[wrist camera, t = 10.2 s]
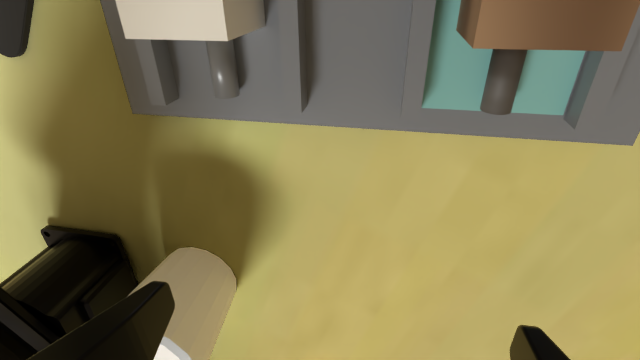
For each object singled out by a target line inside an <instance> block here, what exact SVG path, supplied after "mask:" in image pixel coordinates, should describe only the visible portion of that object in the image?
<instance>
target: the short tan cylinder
mask: <svg viewBox="0 0 640 360" xmlns="http://www.w3.org/2000/svg"><path fill="white" fill-rule="evenodd" d="M152 281H162V282H167V283H168V284H169V286H170V289H171V292H172V295H173V298H174V301H175V309H174V312H173V315H172V317H171V319H170V322H169V324H168V327H167V329H166V331H165V334H164V336H163V338H162V341H161V343H160V346H159V348H158V350H157V353H156V355H155V357H154V359H153V360H209V358H210V356H211V353H212V351H213V348H214V345H215V343H216V340H217V338H218V335H219V333H220V330H221V328H222V325H223V323H224V320H225V318H226V315H227V313H228V310H229V308H230V305H231V302H232V300H233V297H234V295H235V292H236V290H237V286H236V278H235V276H234V274H233V272H232V270H231V268H230V267H229V266H228V265H227V264H226V263H225V262H224V261H223V260H222V259H221V258H219V257H218V256H216V255H214V254H212V253H210V252H208V251H207V250H203V249H199V248H194V247H186V248H179V249H177V250H175V251H174V252H172V253H171V254H170V255H169V256H168V257H167V258H165V259H164V260H163V261H162V262H161V263H160V264H159V265H158V266H157V267H156V268H155V269H154V270H153V271H152V272H151V273H150V274H149V275H148V276H147V277H146V278H145V279H144V280H143V281H142V282H141V283H140V284H139V285H138V286H137V287H136V288H135V289H134V290H133V291H132V292H131V293H130V294H129V295H131V294H132V293H134V292H135V291H137V290H139V289H140V288H142V287H143V286H145V285H147V284H148V283H150V282H152ZM129 295H128V296H129Z"/></svg>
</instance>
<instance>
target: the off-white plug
mask: <svg viewBox="0 0 640 360" xmlns="http://www.w3.org/2000/svg"><path fill="white" fill-rule="evenodd" d="M115 1H116V5H117V9H118V12H119V16H120V20H121V24H122V27H123V31H124V35H125V38H126V39H155V40H199V41H205V42H206V48H207V54H208V61H209V67H210V73H211V79H212V85H213V91H214V97H216V98H219V99H229V98H234V97H237V96H239V95H240V91H239V83H238V75H237V67H236V59H235V51H234V43H233V39H235V38H237V37H240V36H242V35H245V34H247V33H250V32H252V31H255V30H257V29H260V28H262V27H265V13H264V1H263V0H115Z"/></svg>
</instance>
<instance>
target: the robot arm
mask: <svg viewBox="0 0 640 360" xmlns="http://www.w3.org/2000/svg"><path fill="white" fill-rule="evenodd" d="M41 234H42V236H43V238H44V240H45V242H46V243H47V245H48V247H47V248H46V249H44V250H43V251H42V252H41V253H39V254H38V255H37V256H35V257H34V258H33V259H32V260H30V261H29V262H28V263H26V264H25V265H24V266H22V267H21V268H20V269H19V270H17V271H16V272H15V273H13V274H12V275H11V276H10V277H8V278H7V279H6V280H4V281H3V282H2V283H1V284H0V360H153V359H154V357H155V355H156V353H157V350H158V348H159V346H160V343H161V341H162V338H163V336H164V334H165V331H166V329H167V327H168V324H169V322H170V319H171V317H172V315H173V312H174V309H175V301H174V298H173V295H172V292H171V289H170V286H169V284H168V283H167V282H162V281H152V282H150V283H148V284H147V285H145V286H143V287H142V288H140V289H139V290H137V291H135V292H134V293H132V294H131V295H129V294H130V293H131V292H132V291H133V290H134V289H135V288H136V287H137V286H138V285H137V282H136V279H135V277H134V274H133V271H132V269H131V266H130V263H129V261H128V258H127V255H126V253H125V250H124V247H123V245H122V242H121V240H120V238H119V237H118V236H116V235H114V234H108V233H100V232H92V231H85V230H77V229H70V228H62V227H55V226H46V227H45V228H43V229H42V230H41ZM128 295H129V296H128ZM510 359H511V360H570V359H569V358H568V357H567V356H566V355H565V354H564V353H563V351H562V350H561V349H560V348H559V347H558V346H557V345H556V344H555V343H554V342H553V341H552V340H551V339H550V338H549V337H548V336H547V335H546V334H545V333H544V332H543V331H542V330H541V329H540V328H538V327H535V326H527V325H520V326H518V328H517V330H516V333H515V335H514V338H513V341H512V344H511V347H510Z"/></svg>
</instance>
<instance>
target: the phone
mask: <svg viewBox="0 0 640 360" xmlns="http://www.w3.org/2000/svg"><path fill="white" fill-rule="evenodd" d="M33 5H34V0H0V54H2V55H4V56H7V57H17V56H21V55H23V54H24V52H25V51H26V48H27V44H28V38H29V31H30V25H31V18H32V11H33Z"/></svg>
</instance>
